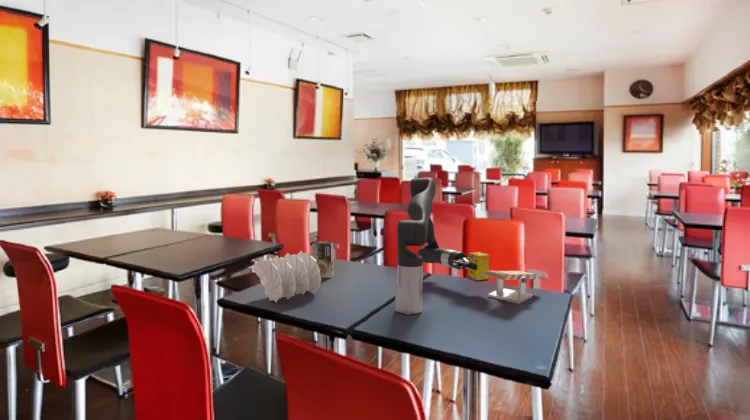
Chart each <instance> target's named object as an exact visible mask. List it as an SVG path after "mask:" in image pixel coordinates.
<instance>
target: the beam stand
mask: <svg viewBox="0 0 750 420" xmlns="http://www.w3.org/2000/svg"><path fill="white" fill-rule="evenodd" d="M527 280H528V279H527V278H526V277H525V276H523V277H520V278H519V280H518V290H514V289H510V288H505V287H504V280H501V279H496V285H495V287H496V288H495V290H494V291H492V292H490V293H488V298H490V299H491V298H492V299H496V300H501V301H505V302H509V303H513V304H517V305H519V304H522V303H523V302H525V301H528V300H530V299H531V298H533V294H532V293H530V292H529V293H528V292H526V285H527Z"/></svg>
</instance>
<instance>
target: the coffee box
mask: <svg viewBox="0 0 750 420" xmlns="http://www.w3.org/2000/svg"><path fill="white" fill-rule="evenodd" d="M311 248H312V249H311V251H312V254H311V256H312V257H313V258H314V259H315V260H316V261H317V262H316V263H317V264H318V267H319V269H320V278H321V279H322V278H329V279H332V278H333V277H334V276H335V272H334V271H335V269H334V268H335V267H334V265H335V263H334V262H335V261H334V260H335V258H334V256H335V255H334V241H318V240H317V241H313V243H312V244H311Z"/></svg>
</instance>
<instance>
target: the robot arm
mask: <svg viewBox="0 0 750 420" xmlns="http://www.w3.org/2000/svg"><path fill="white" fill-rule="evenodd" d="M436 191H437V185H436V182H435V180H434V178H432V177H419V178H418V177H417V178H411V180H410V183H409V193H410V198H411V199H410V201H409V203H408V206H407V212H406V213H407V216H408V218H409V219H408V220H407V219H405V220H403V219H401V220H399V221H398V223H397V227H396V243H397V244H396V245H397V263H396V264H397V266H396V267H397V272H396V273H397V274H396V277H397V278H396V279H397V282H396V283H397V284H396V285H395V288H394V289H395V291H394V292H395V294H394V295H395V296H394V297H395V300H394V301H395V302H394V304H395V305H394V307H395V308H394V309H395V312H397V313H401V314H405V315H406V316H407V315H417V314H420V313H422V312H423V282H424V281H423V279H424V278H423V276H424V275H423V274H424V272H423V271H424V269H423V268H424V263H425V264H440V265H444V266H446V267H448V268H451V269H456V270H465V269H467V270H468V269H473V270H477V264H473V263H469V256H467V254H466V253H465V252H462V251H459V250H455V249H447V248H442V247H439V244H438V241H437V239H436V236H435V228H434V223H433V220H432V218H431V217H430V216H431V212H432V208H433V207H432V205H433V201H434V198H435V196H436ZM425 244H426V245H425ZM408 247H420V248H419V249H418V250H417V253H415V252H413V251H411V250H410V249H409V248H408Z"/></svg>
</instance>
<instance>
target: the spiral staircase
mask: <svg viewBox="0 0 750 420" xmlns="http://www.w3.org/2000/svg"><path fill="white" fill-rule="evenodd" d="M316 262H317V261H316V260H315V259H314V258H313V257H312V255H311V254H310V253H308V252H303V250H300V251H299V252H298V253H297V254H294V253H293V254H290V253H289V252H287V253H286V254H285V255H284V256H283V257H282V256H280V257H279V255H276V256H275V257H273V258H271V257H269V258H268V259H265V257H261V258H260V259H259V260H258V261H257V260H255V261H254V264H253V267H252V271H254V272H253V273H255V274H256V275H257V277H258V278H259V281H260V284H261V285H262V286H263V287H264V295H266V296H267V297H268V300H269V301H274V303H277V302H278V301H279V300H280V299H282V298H286V299H287V300H290V299H291V298H292V297H295V294H296V295H300V294H301V295H302V296H304V294H305V293H306V292H313V293H315V292H316V291H317V290H318V289H320V288H321V283H322V278H320V269H319V267H318V264H317V263H316Z"/></svg>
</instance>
